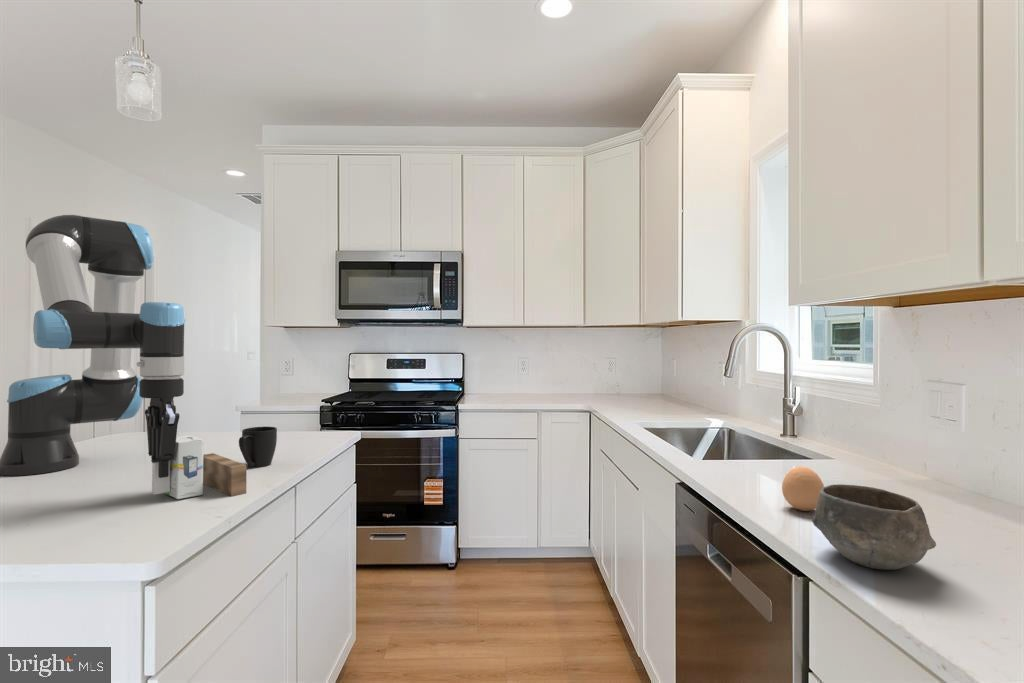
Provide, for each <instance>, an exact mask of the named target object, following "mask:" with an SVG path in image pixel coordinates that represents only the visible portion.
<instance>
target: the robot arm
mask: <svg viewBox="0 0 1024 683" xmlns="http://www.w3.org/2000/svg"><path fill="white" fill-rule="evenodd" d="M25 252H26V255H27V257H28V258H29V260H30V261H31V262H32V263H33V264H34V267H35V271H36V277H37V282H38V286H39V292H40V296H41V301H42V307H43V309H41V310H37V311H36V312H35V314H34V316H33V322H32V324H33V325H32V326H33V328H32V332H33V342H34V344H35V345H36V346H37V347H38V348H40V349H41V348H42V349H58V350H71V349H73V350H81V349H83V350H85V349H90V362H89V363H90V365H89V367H87V368H86V369H85V370H83V371H82V373H81V379H72V377H71V375H70V374H56V375H48V376H47V375H46V376H38V377H32V378H31V377H30V378H25V379H19V380H15V381H13V382H12V383H11V384H10V385H9V388H8V395H7V396H8V397H7V400H6V403H8V407H7V408H8V410H7V412H8V413H7V442H6V445H5V447H4V449H3V452H2V454H1V455H0V476H10V477H11V476H12V477H14V476H31V475H39V474H46V473H53V472H58V471H59V472H60V471H63V470H68V469H71V468H74V467H77V466H78V465H79V464H80V454H79V453H78V450H77V448H76V444H74V442H73V439H72V435H71V426H72V425H76V424H78V425H79V424H87V423H89V424H90V423H99V422H100V423H101V422H110V421H111V422H117V421H120V420H127V419H132V418H133V417H135V416H136V415H137V414H138V412H140V409H141V406H142V403H143V399H150V401H149V406H147V409H145V410H144V415H145V420H146V433H147V447H148V450H147V451H148V456H149V457H150V459H151V460H150V461H151V464H152V465H151V466H152V467H151V469H152V470H151V471H152V473H151V474H152V477H151V478H152V479H151V480H152V481H151V485H152V486H151V493H152V494H153V495H158V494H165V492H170V460H171V459H173V458H174V456H175V446H176V437H177V434H178V425H179V420H180V418H181V417H180V413H178V412H177V411H176V410H177V409H176V408H177V407H176V405H175V403H174V402H175V401H174V399H175V398H177V397H178V398H179V397H181V396H184V388H185V387H184V386H185V385H184V384H185V383H184V382H185V380H184V378H182V376H184V375H185V356H184V355H185V322H186V319H185V309H184V306H183V305H182V304H180V303H175V302H174V303H173V302H163V301H162V302H161V301H160V302H159V301H158V302H157V301H154V302H153V301H152V302H151V301H150V302H149V301H148V302H147V301H146V302H143V303H142V304H141V305H140V309H139V313H135V305H136V304H135V303H136V289H137V281H138V280H140V279H142V278H143V277H144V276H145V274H144V273H145V270H146V271H147V270H150V269H152V267H153V263H154V249H153V243H152V239H151V236H150V233H149V232H148V230H147V229H146V228H145V227H144V226H142V225H139V224H135V223H131V222H126V221H119V220H111V219H103V218H96V217H90V216H89V217H88V216H82V215H78V214H62V215H61V214H60V215H57V216H52V217H49V218H47V219H44V220H43V221H41V222H40V223H38V224H36V225H35V226H34V227H33V228H31V230H30V232H29V233H28V234H27V237H26V240H25ZM80 264H87V271H88V273H90V274H91V275H92V276H93V278H94V290H93V291H94V292H93V293H94V295H93V307H92V303H91V300H90V296H89V294H88V289H87V286H86V282H85V279H84V275H83V273H82V269H81V266H80ZM132 349H139V361H137V362H136V367H138V368H139V376H140V377H139V376H137V375H138V374H137V370H135V369H134V368H132V367H131V365H132V364H131V363H132V362H131V361H132V360H131V359H132ZM141 377H142V378H143V379H142V378H141Z"/></svg>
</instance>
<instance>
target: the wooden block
mask: <svg viewBox="0 0 1024 683" xmlns="http://www.w3.org/2000/svg"><path fill="white" fill-rule="evenodd" d="M247 467H248V466H247V464H246V463H245V464H244V463H242V462H239V461H236V460H234V459H230V458H228V457H225V456H221V455H219V454H217V453H214V452H212V453H206V454H204V453H203V485H207V486H208V487H211V488H213V489H215V490H217V491H219V492H221V493H223V494H226V495H228V496H230V497H234V496H239V495H240V496H241V495H244V494H247Z"/></svg>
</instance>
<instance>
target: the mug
mask: <svg viewBox="0 0 1024 683" xmlns="http://www.w3.org/2000/svg"><path fill="white" fill-rule="evenodd" d="M277 431H278V428H277V427H275V426H253V427H247V428H244V429H242V431H241V436H240V437H239V439H238V447H239V449H240V452H241V455H242V456H243V458H244V461H245V464H246V465H247V467H248V468H251V469H256V468H265V467H266V468H267V467H268V466H269V467H270V466H271V465H272V462H273V459H274V455H275V453H276V452H275V451H276V448H277V440H278V438H277V437H278V434H277V433H278V432H277Z"/></svg>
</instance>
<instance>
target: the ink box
mask: <svg viewBox="0 0 1024 683" xmlns="http://www.w3.org/2000/svg"><path fill="white" fill-rule="evenodd" d="M203 455H204V440H203V439H202V438H199V437H196V436H193V435H190V434H189V435H187V434H186V435H180V436H176V446H175V456H174V458H173V459H171V460H170V492H165V493H164V494H165V495H167V496H170V497H172V498H174V499H176V500H181V499H186V498H192V497H193V498H194V497H198V496H202V495H204V492H203V491H204V483H203Z"/></svg>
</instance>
